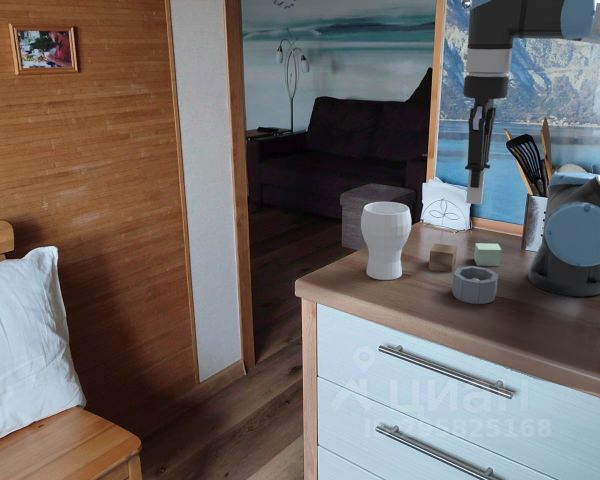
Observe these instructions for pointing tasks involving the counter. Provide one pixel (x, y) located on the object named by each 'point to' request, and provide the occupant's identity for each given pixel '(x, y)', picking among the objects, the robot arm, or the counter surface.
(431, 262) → the walnut box
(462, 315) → the counter surface
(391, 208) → the cup
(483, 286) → the ramekin
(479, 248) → the sage block
